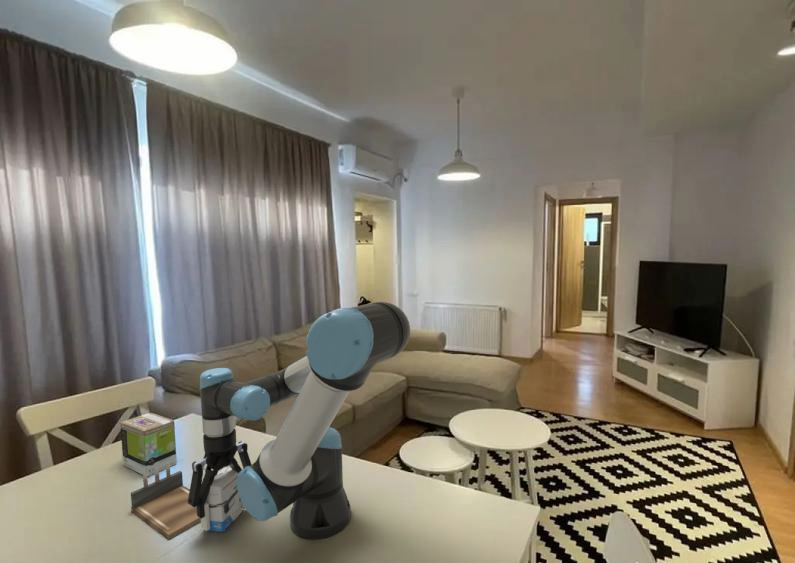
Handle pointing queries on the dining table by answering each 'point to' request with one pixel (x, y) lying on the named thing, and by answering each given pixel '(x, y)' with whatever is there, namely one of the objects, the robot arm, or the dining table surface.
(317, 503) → the robot arm
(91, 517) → the dining table surface
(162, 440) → the tea box
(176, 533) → the header board
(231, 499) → the ink box
